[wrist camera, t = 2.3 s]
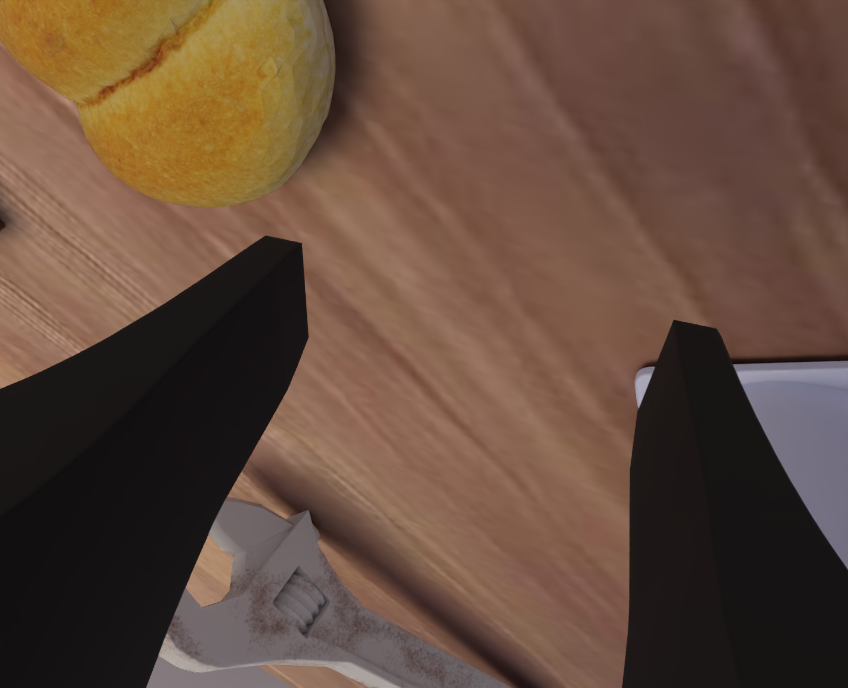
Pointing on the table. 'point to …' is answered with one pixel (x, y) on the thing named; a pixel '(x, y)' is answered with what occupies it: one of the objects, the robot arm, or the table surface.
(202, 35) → the bread roll
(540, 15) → the table surface
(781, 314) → the table surface
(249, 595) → the wrench
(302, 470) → the table surface
